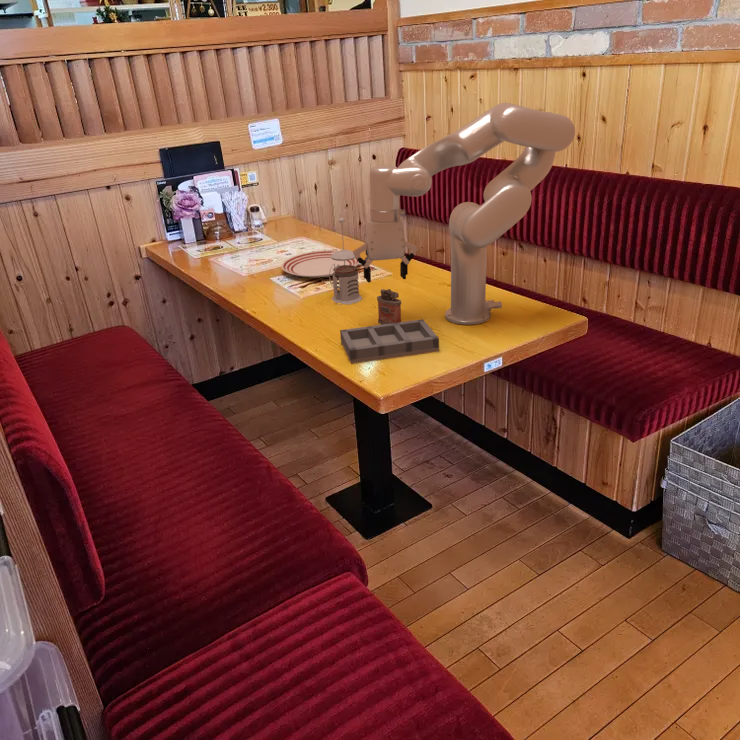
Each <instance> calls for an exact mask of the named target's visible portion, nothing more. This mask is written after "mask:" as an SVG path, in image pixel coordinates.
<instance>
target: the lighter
mask: <svg viewBox="0 0 740 740" xmlns="http://www.w3.org/2000/svg"><path fill="white" fill-rule="evenodd" d="M399 298H400V297H399V293H398V292H397V291H392V290H391V289H390V288H387V289H384V288H383V289H382V288H381V289H380V295H378V296H377V297H376V300H377V309H378V310H377V311H378V314H377V315H378V319H377V323H378V324H379V323H380V324H379V325H383V324H391V323H398V322H402V310H401V309H402V307H401V306H402V300H400V299H399Z"/></svg>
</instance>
